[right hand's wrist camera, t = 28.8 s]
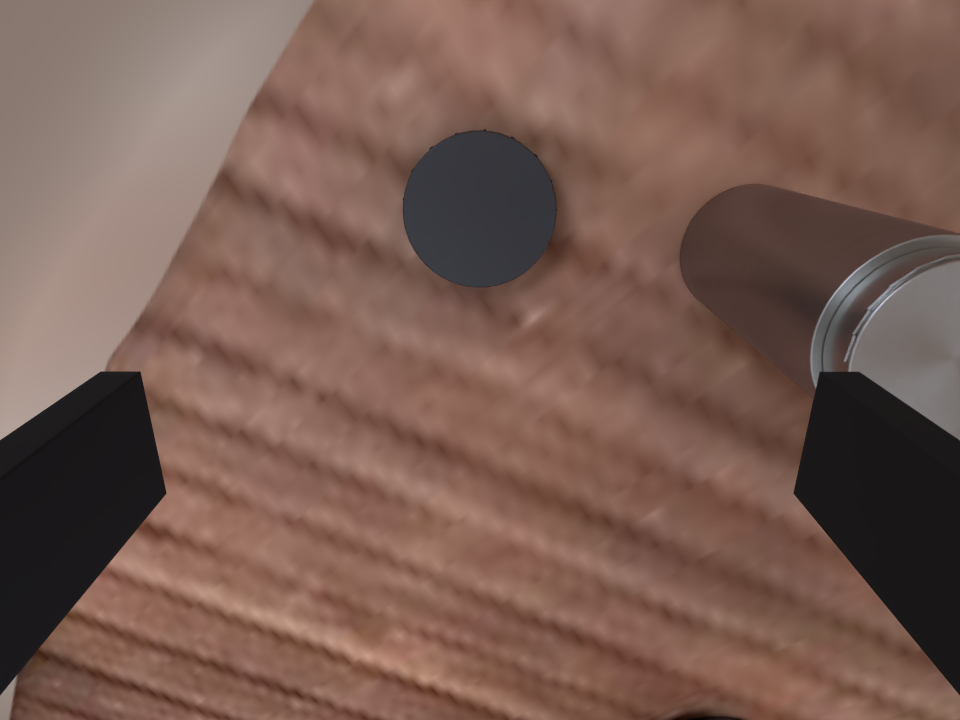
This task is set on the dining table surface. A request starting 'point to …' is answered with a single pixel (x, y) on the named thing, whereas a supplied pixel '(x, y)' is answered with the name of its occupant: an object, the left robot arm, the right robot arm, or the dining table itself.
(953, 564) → the right robot arm
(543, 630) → the dining table surface
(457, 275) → the lid
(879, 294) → the jar
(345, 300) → the dining table surface
